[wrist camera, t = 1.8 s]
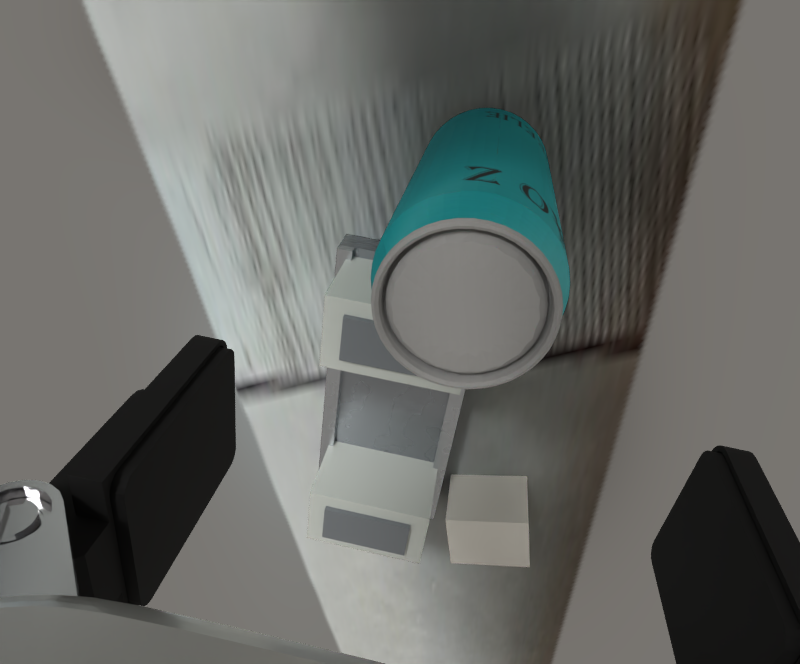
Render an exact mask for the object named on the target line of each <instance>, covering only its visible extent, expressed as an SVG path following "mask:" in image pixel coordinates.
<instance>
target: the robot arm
mask: <svg viewBox="0 0 800 664" xmlns="http://www.w3.org/2000/svg"><path fill="white" fill-rule="evenodd" d="M235 436H236V433H235V366H234V352H233V350H232V349H227V345H226V343H225V341H223V340H219V339H214V338H210V337H205V336H200V335H195V336H194V337H193V338H192V339H191V340H190V341H189V342H188V343H187V344H186V345H185V346H184V347H183V348H182V350H181V351H180V352H179V353H178V354H177V355H176V356H175V357H174V358H173V359H172V360H171V362H170V363H169V364H168V365H167V366H166V367H165V368H164V369H163V370H162V371H161V372H160V373H159V375H158V376H157V377H156V378H155V379H154V380H153V381H152V382H151V383H150V384H149V386H148V387H147V388H146V389H145V390H144V389H142V390H138V391H136V392H135V393H134V394H133V395H132V396H131V397H130V398H129V399H128V400H127V401H126V402H125V403H124V404H123V405H122V406H121V407H120V408H119V409H118V410H117V412H116V413H115V414H114V415H113V416H112V417H111V418H110V419H109V420H108V421H107V422H106V423H105V424H104V425H103V426H102V427H101V428H100V430H99V431H98V432H97V433H96V434H95V435H94V436H93V437H92V438H91V439H90V440H89V441H88V442H87V443H86V444H85V446H84V447H83V448H82V449H81V450H80V451H79V452H78V453H77V454H76V455H75V456H74V457H73V458H72V459H71V461H70V462H69V463H68V464H67V465H66V466H65V467H64V468H63V469H62V470H61V471H60V472H59V473H58V474H57V475H56V477H54V479H53V480H52V481H51V482H50V483H45V482H42V481H38V480H20V481H15V482H8V483H5V484H2V485H0V664H384V663H380V662H376V661H372V660H368V659H364V658H360V657H356V656H352V655H348V654H344V653H339V652H335V651H331V650H327V649H323V648H319V647H314V646H310V645H306V644H302V643H298V642H294V641H289V640H286V639H282V638H277V637H273V636H269V635H265V634H261V633H256V632H253V631H248V630H244V629H240V628H236V627H232V626H228V625H223V624H219V623H215V622H210V621H206V620H201V619H197V618H192V617H188V616H184V615H179V614H175V613H170V612H166V611H161V610H157V609H152V608H148V607H143V606H145V605H147V604H148V603H149V602H150V600H151V599H152V597H153V596H154V594H155V592H156V591H157V589H158V587H159V585H160V583H161V582H162V580H163V579H164V577H165V575H166V574H167V572H168V570H169V569H170V567H171V565H172V563H173V562H174V560H175V558H176V557H177V555H178V554H179V552H180V550H181V548H182V547H183V545H184V543H185V542H186V540H187V538H188V537H189V535H190V533H191V531H192V530H193V528H194V527H195V525H196V523H197V521H198V520H199V518H200V516H201V515H202V513H203V511H204V510H205V508H206V506H207V505H208V503H209V501H210V500H211V498H212V496H213V495H214V493H215V491H216V489H217V488H218V486H219V484H220V483H221V481H222V479H223V478H224V476H225V474H226V473H227V471H228V469H229V467H230V466H231V464H232V461H233V459H234V455H235V450H236V437H235ZM651 559H652V565H653V569H654V573H655V577H656V581H657V585H658V589H659V594H660V598H661V602H662V606H663V610H664V614H665V619H666V623H667V627H668V631H669V635H670V639H671V644H672V648H673V652H674V656H675V660H676V664H800V542H799V540H798V538H797V536H796V534H795V532H794V531H793V529H792V527H791V525H790V523H789V521H788V519H787V517H786V515H785V513H784V511H783V509H782V507H781V505H780V503H779V501H778V499H777V498H776V496H775V494H774V492H773V490H772V488H771V486H770V484H769V482H768V480H767V478H766V476H765V475H764V472H763V471H762V468H761V467H760V465H759V463H758V461H757V459H756V457H755V456H754V455H753V453H751V452H749V451H744V450H739V449H734V448H730V447H725V446H716V447H715V448H714V449H713V450H712V451H705V452H703V454H702V455H701V457H700V458H699V460H698V462H697V464H696V466H695V468H694V469H693V471H692V473H691V475H690V476H689V478H688V480H687V482H686V484H685V486H684V487H683V489H682V491H681V493H680V495H679V497H678V498H677V500H676V502H675V504H674V506H673V507H672V509H671V511H670V513H669V515H668V517H667V519H666V520H665V522H664V524H663V526H662V527H661V529H660V531H659V533H658V535H657V537H656V539H655V540H654V543H653V545H652V551H651ZM139 605H141V606H139Z"/></svg>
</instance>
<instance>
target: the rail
mask: <svg viewBox="0 0 800 664" xmlns="http://www.w3.org/2000/svg"><path fill="white" fill-rule="evenodd" d="M379 242H380V240H375V239H370V238H365V237H360V236H354V235H349V234H346V235H345V237H344V239H343V240H342V242H341V243H340V245H339V246H338V248H337V255H336V267H335V277H336V275H337V273H338V272H339V270H340V268H341V267H342V265H343V263H344V261H345V260H346V259H347V260H352V259H353V257H359V258H364V259H369V260H373V258H374V255H375V251H376V249H377V246H378V244H379ZM464 393H465V389H461V392H460V395H457V394H452V393H447V392H442V391H438V390H433V389H428V388H423V387H418V386H414V385H409V384H404V383H399V382H394V381H390V380H385V379H380V378H375V377H371V376H366V375H361V374H356V373H351V372H347V371H342V370H337V369H332V368H327V376H326V388H325V400H324V412H323V424H322V436H321V448H320V460H319V468H320V466H321V463H322V461H323V458H324V456H325V453H326V451H327V448H328V445H329V446H333V445H334V443H335V441H337V442H342V443H346V444H351V445H355V446H360V447H365V448H369V449H374V450H378V451H383V452H388V453H392V454H397V455H401V456H406V457H411V458H415V459H420V460H424V461H429V462H434V464H433V468H435V469H438V470H437V476H436V483H435V489H434V496H433V503H432V509H431V516H430V518H431V519H434V516H435V512H436V508H437V503H438V499H439V495H440V491H441V487H442V483H443V479H444V475H445V471H446V467H447V463H448V459H449V455H450V450H451V446H452V442H453V438H454V434H455V430H456V426H457V422H458V418H459V414H460V410H461V406H462V401H463V397H464Z"/></svg>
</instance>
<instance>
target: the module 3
mask: <svg viewBox="0 0 800 664" xmlns="http://www.w3.org/2000/svg"><path fill="white" fill-rule="evenodd" d="M445 521H446V529H447V537H448V544H449V552H450V560H451V563H457V564H476V565H496V566H515V567H530V555H529V519H528V487H527V476H496V475H451V478H450V486H449V495H448V503H447V511H446V519H445Z"/></svg>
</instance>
